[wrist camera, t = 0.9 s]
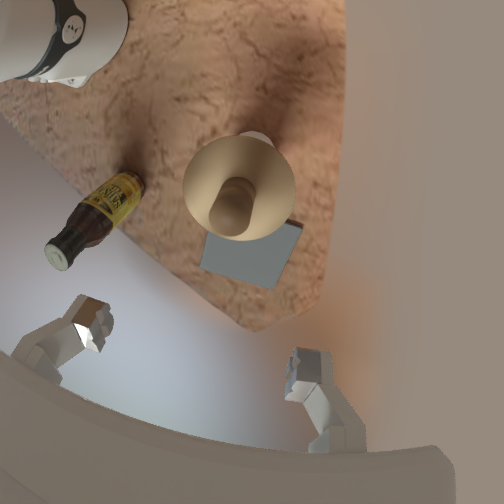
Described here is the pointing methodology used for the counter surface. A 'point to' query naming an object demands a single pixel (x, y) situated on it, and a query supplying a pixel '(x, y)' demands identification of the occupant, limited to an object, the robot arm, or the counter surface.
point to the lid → (239, 188)
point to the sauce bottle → (95, 218)
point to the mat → (251, 256)
